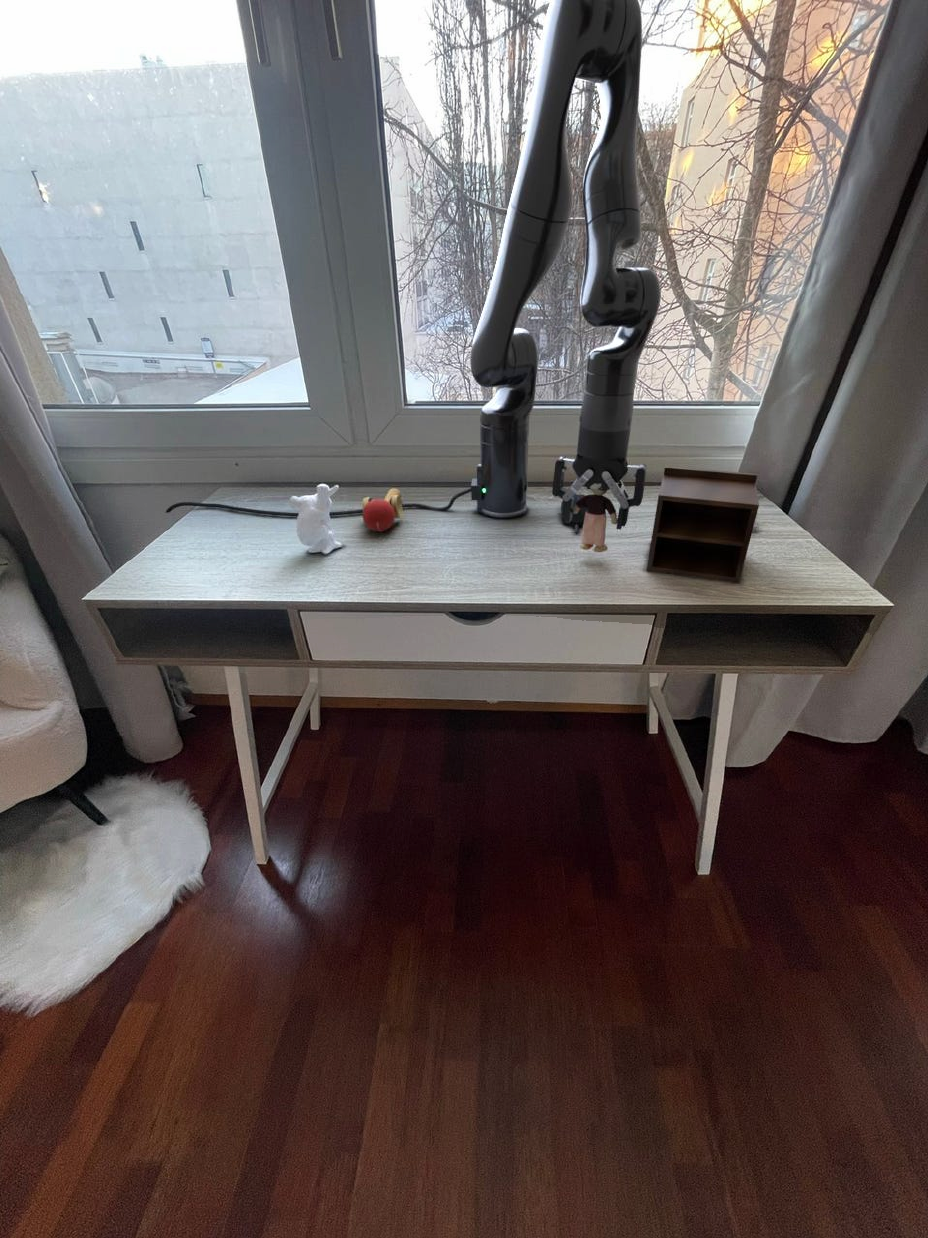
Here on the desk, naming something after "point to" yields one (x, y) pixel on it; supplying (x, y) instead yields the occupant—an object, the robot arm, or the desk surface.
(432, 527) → the desk surface
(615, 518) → the grandmother figurine
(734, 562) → the rack
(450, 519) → the desk surface
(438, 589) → the desk surface
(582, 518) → the gaming mouse
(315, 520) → the white sculpted figure
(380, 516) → the kendama
